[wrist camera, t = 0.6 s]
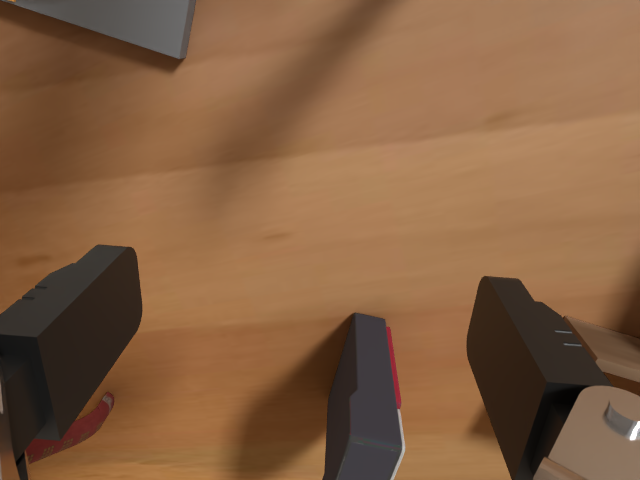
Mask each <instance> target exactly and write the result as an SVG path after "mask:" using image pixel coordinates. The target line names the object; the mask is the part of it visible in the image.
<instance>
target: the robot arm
mask: <svg viewBox="0 0 640 480" xmlns="http://www.w3.org/2000/svg"><path fill="white" fill-rule="evenodd" d="M141 317H142V298H141V289H140V280H139V271H138V262H137V256H136V252H135V250H134V249H133V248H132V247H123V246H111V245H96V246H95V247H94V248H93V249H91V250H90V251H89V252H88V253H87V254H86V255H84V256H83V257H82V258H81V259H80V260H79V261H78V262H76V263H72V264H70V265H68V266H66V267H63V268H61V269H59V270H57V271H55V272H52V273H50V274H49V275H48V276H47V277H45V278H44V279H43V280H42V281H41V282H39V283H38V284H37V285H36V286H35V289H31V290H30V291H28V292H27V293H26V294H25V295H24V296H22V300H21V299H19V300H17V301H16V302H15V303H14V304H13V305H11V306H10V307H9V308H8V309H6V310H5V311H4V312H3V313H2V314H0V480H31V475H30V468H29V461H28V458H27V454H26V448H27V447H28V446H29V445H30V443H31V442H32V441H33V439H44V440H55V441H61V439H62V438H63V436H64V435H65V433H66V432H67V431H68V429H69V428H70V426H71V425H72V423H73V422H74V421H75V419H76V418H77V416H78V415H79V413H80V412H81V411H82V409H83V408H84V406H85V405H86V403H87V402H88V401H89V399H90V398H91V396H92V395H93V393H94V392H95V390H96V389H97V388H98V386H99V385H100V383H101V382H102V380H103V379H104V378H105V376H106V375H107V373H108V372H109V370H110V369H111V368H112V366H113V365H114V363H115V362H116V360H117V359H118V358H119V356H120V355H121V353H122V352H123V350H124V349H125V347H126V346H127V345H128V343H129V342H130V340H131V339H132V337H133V336H134V335H135V333H136V332H137V330H138V328H139V325H140V322H141ZM581 345H582V344H581V342H580V341H579V340H578V338H577V337H576V336H575V334H572V330H571V329H570V327H569V326H568V325H567V323H566V322H565V321H564V319H563V318H562V317H561V316H560V315H559V314H558V313H556V312H555V311H554V310H552V309H551V308H549V307H548V306H547V305H545V304H544V303H542V302H536V301H534V300H533V298H532V297H531V295H530V294H529V292H528V291H527V289H526V288H525V287H524V285H523V284H522V282H521V281H520V280H519V279H516V278H503V277H491V276H484V277H483V278H482V279H481V281H480V283H479V286H478V290H477V295H476V299H475V303H474V308H473V312H472V316H471V321H470V325H469V329H468V334H467V356H468V360H469V363H470V366H471V369H472V372H473V374H474V377H475V380H476V383H477V385H478V388H479V391H480V394H481V396H482V399H483V402H484V405H485V407H486V410H487V413H488V416H489V418H490V421H491V424H492V427H493V429H494V432H495V435H496V437H497V440H498V443H499V446H500V448H501V451H502V454H503V457H504V459H505V462H506V465H507V468H508V470H509V473H510V476H511V479H512V480H640V396H638V395H636V394H634V393H631V392H629V391H626V390H623V389H619V388H615V387H613V385H612V384H611V383H610V381H609V380H608V379H607V377H606V376H605V375H604V373H603V372H602V371H601V369H600V368H599V367H598V365H597V364H596V362H595V361H594V360H593V358H592V357H591V356H590V354H589V353H588V352H587V350H586V349H585V348H584V347H582V346H581Z"/></svg>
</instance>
